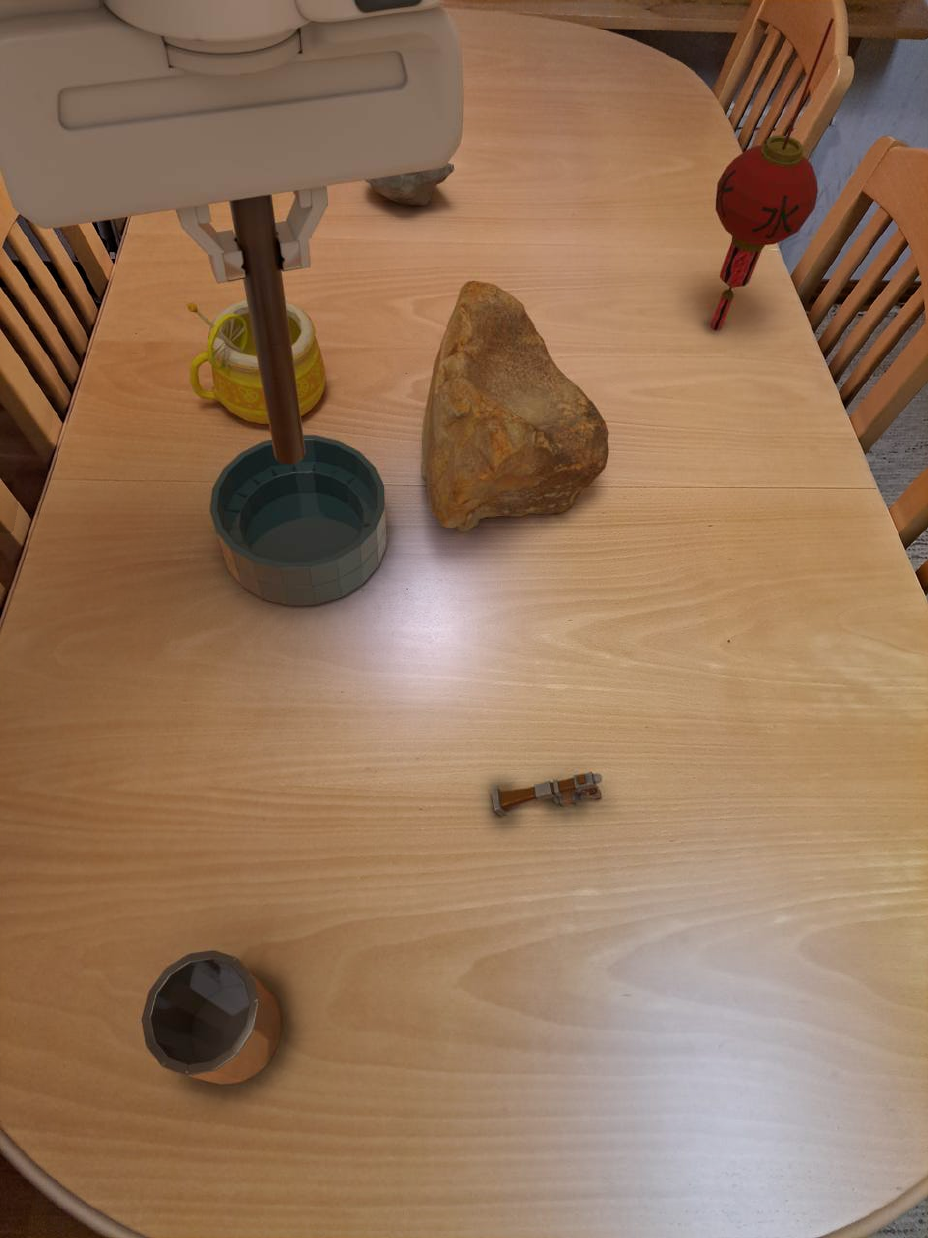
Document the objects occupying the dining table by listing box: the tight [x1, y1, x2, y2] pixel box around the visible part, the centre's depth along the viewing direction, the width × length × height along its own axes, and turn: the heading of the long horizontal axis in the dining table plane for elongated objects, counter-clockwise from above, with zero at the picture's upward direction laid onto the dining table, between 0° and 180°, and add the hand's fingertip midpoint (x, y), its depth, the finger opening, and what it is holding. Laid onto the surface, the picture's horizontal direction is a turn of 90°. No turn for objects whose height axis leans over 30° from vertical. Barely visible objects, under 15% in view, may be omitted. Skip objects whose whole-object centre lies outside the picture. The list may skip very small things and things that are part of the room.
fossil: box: [364, 162, 455, 207], centre depth 98 cm, size 11×9×8 cm
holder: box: [141, 949, 283, 1085], centre depth 48 cm, size 6×6×10 cm
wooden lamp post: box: [491, 770, 603, 817], centre depth 61 cm, size 2×8×4 cm, turn 96°
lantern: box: [710, 18, 835, 331], centre depth 79 cm, size 10×10×30 cm
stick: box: [228, 194, 306, 465], centre depth 46 cm, size 2×2×18 cm
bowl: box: [209, 434, 387, 606], centre depth 71 cm, size 14×14×6 cm
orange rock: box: [420, 280, 610, 533], centre depth 73 cm, size 23×17×15 cm
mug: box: [186, 299, 327, 425], centre depth 77 cm, size 13×11×12 cm
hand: (261, 268), depth 42 cm, fingers closed on stick, 2 cm apart
